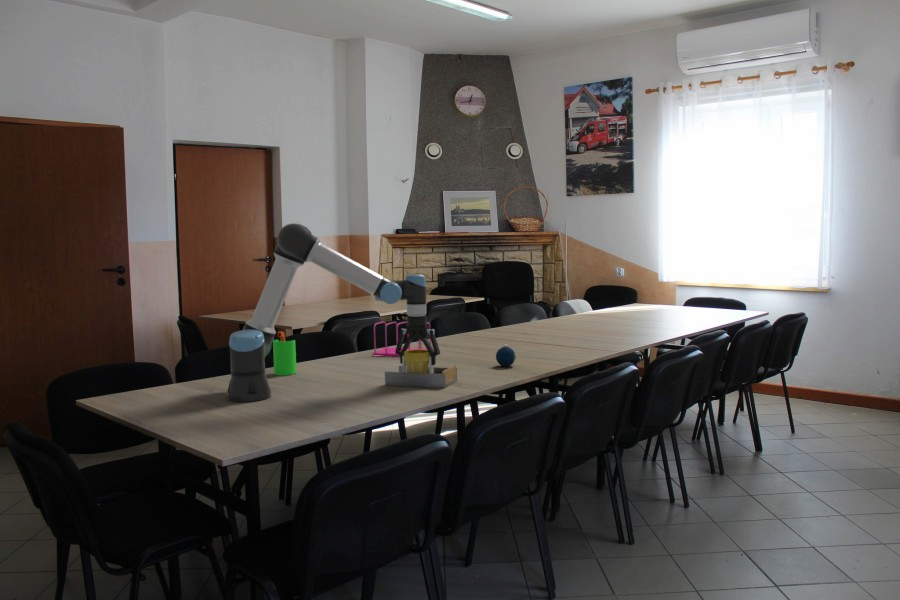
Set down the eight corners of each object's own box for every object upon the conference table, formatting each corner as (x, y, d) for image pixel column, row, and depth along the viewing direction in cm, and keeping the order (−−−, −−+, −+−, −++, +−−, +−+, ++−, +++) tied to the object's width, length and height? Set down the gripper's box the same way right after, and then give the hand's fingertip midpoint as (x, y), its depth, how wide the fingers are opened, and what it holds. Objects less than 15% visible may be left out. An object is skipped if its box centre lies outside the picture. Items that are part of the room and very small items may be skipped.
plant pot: (436, 374, 273) (435, 349, 272) (424, 379, 264) (423, 353, 263) (412, 373, 277) (411, 348, 276) (399, 377, 268) (399, 352, 267)
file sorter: (385, 351, 353) (384, 319, 352) (433, 352, 346) (432, 320, 345) (372, 356, 336) (371, 323, 335) (422, 357, 330) (421, 324, 328)
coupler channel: (444, 388, 259) (444, 372, 259) (385, 384, 268) (384, 369, 267) (457, 380, 273) (456, 365, 272) (400, 378, 281) (399, 363, 280)
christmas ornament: (510, 368, 296) (510, 345, 296) (492, 367, 301) (492, 343, 300) (519, 365, 304) (518, 342, 303) (501, 364, 308) (501, 341, 307)
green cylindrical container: (298, 372, 299) (297, 329, 297) (292, 375, 291) (290, 332, 289) (277, 372, 299) (275, 330, 298) (270, 375, 291) (269, 332, 290)
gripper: (448, 314, 268) (449, 372, 270) (393, 313, 276) (394, 369, 278) (441, 316, 261) (442, 376, 263) (385, 315, 269) (386, 373, 271)
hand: (418, 372), depth 270 cm, fingers closed on plant pot, 10 cm apart
